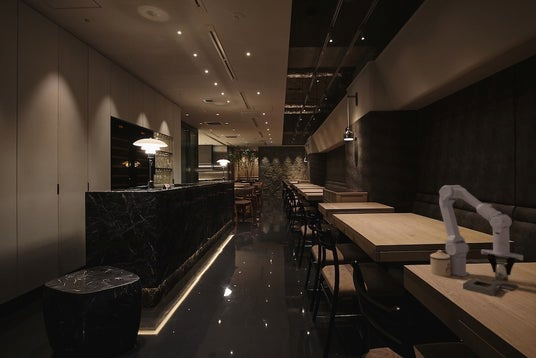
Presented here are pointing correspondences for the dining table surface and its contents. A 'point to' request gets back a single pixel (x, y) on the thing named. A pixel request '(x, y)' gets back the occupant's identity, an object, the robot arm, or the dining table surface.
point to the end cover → (501, 271)
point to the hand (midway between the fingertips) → (501, 273)
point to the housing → (482, 287)
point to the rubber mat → (505, 285)
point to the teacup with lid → (440, 264)
